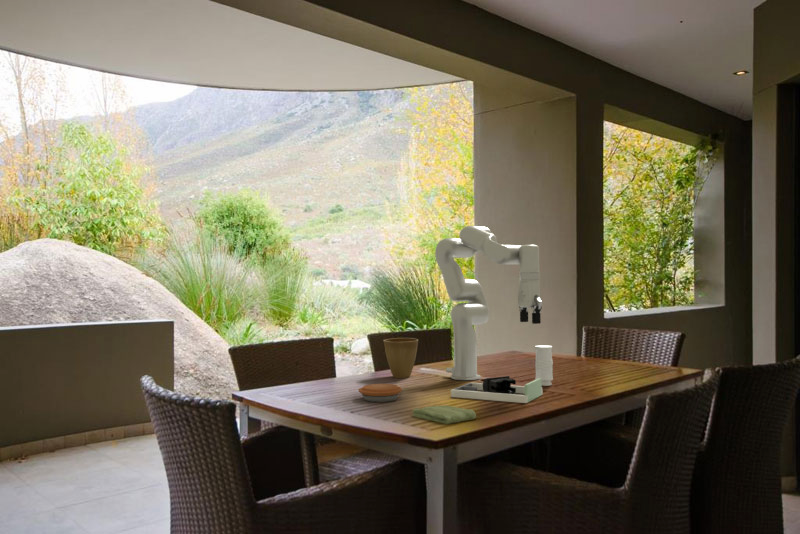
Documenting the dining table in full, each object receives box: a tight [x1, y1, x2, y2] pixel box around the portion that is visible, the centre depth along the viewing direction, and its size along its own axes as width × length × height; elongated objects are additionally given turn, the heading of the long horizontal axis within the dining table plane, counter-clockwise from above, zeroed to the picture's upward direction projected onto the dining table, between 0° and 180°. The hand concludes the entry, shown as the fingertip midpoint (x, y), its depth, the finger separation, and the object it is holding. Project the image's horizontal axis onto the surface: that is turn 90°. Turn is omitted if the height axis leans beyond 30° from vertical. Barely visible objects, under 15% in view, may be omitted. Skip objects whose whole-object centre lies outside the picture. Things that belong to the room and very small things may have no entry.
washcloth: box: [412, 404, 477, 425], centre depth 207 cm, size 13×18×3 cm
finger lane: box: [450, 378, 544, 404], centre depth 242 cm, size 28×18×6 cm, turn 61°
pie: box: [358, 383, 403, 403], centre depth 239 cm, size 15×16×5 cm
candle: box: [534, 344, 554, 387], centre depth 265 cm, size 7×7×15 cm
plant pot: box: [383, 337, 419, 379], centre depth 290 cm, size 15×15×16 cm
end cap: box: [482, 375, 517, 394], centre depth 242 cm, size 10×7×7 cm
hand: (530, 322), depth 254 cm, fingers open, 9 cm apart
